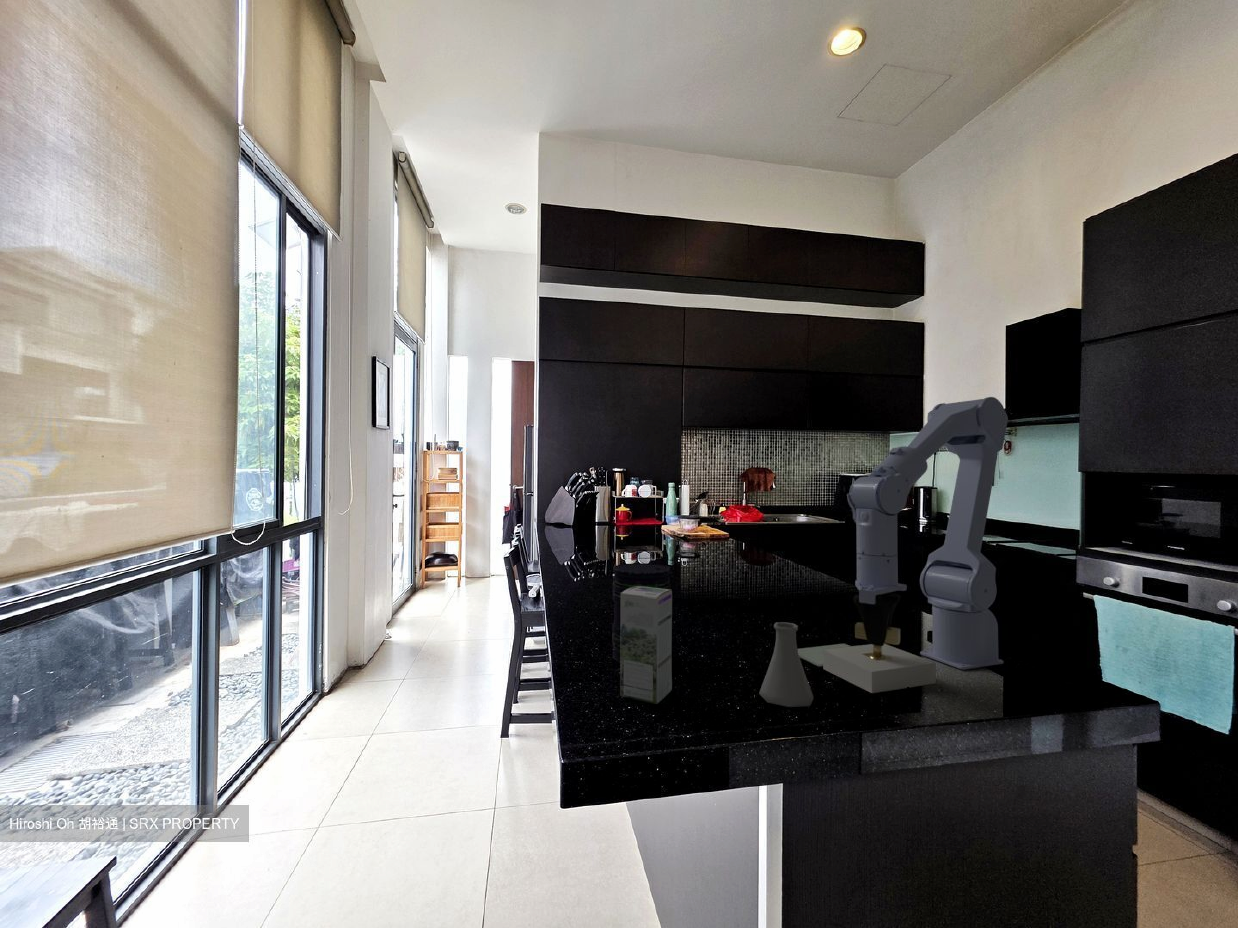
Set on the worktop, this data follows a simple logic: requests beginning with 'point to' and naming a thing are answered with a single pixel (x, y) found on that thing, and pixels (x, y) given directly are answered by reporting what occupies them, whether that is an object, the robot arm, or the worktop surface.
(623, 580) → the storage jar
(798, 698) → the flask
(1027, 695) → the worktop surface
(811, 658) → the mat
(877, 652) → the t key
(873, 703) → the worktop surface
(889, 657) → the block
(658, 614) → the syrup box
